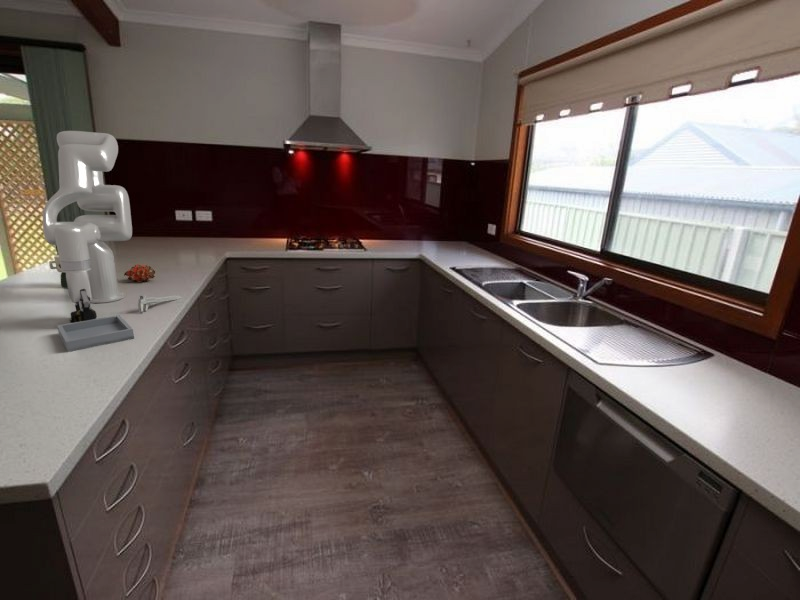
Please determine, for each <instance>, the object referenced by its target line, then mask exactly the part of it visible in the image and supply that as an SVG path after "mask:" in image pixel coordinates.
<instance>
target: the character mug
mask: <svg viewBox="0 0 800 600" xmlns="http://www.w3.org/2000/svg"><path fill="white" fill-rule="evenodd" d="M53 259H54V260H50V261H49V262H48V264H49V269H51V270H56V272H58V273H61V274H60V287H62V288H68V286H67V280H66V272H62V270H61V265H60V260H59V255H58V254H57V255H54V257H53ZM54 264H55V266H53V265H54Z"/></svg>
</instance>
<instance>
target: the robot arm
mask: <svg viewBox="0 0 800 600" xmlns="http://www.w3.org/2000/svg"><path fill="white" fill-rule="evenodd" d="M56 143H57V146H58V153H57V158H58V179H59V180H58V181H59V182H58V183H59V184H58V185H59V188H58V191H57V192H55V193H54V194H53V195H52V196H51V197H50V198H49V200H48V201H47V202H46V204H45V206H44V207H43V211H42V229H43V230H42V232H43V237H44V239H45V241H46V243H49V244H50V245H52V246H56V249H57V255H59V260H60V265H61V270H62V272H66V280H67V286H68V287H67V293H68V297H69V299H70V301H71V302H72V303H74V304H75V305H74V307H75V311H78V310H81V311H80V316H81V321H87V320H92V319H94V317H93V311H92V309H93V308H92V305H91V303H93V304H97V303H98V304H99V303H100V304H102V303H103V304H104V303H109V302H110V303H111V302H115V301H118V300H119V301H120V300H122V299H123V298H124V297H125V293H124V292H123V291H120V289H119V283H118V276H117V270H116V263H115V257H114V252H113V250H112V249H111V247H109V246H108V245H107V244H106V243H105V242H126V241H129V240H131V238H132V236H133V225H132V223H133V222H132V215H131V213H132V212H131V204H130V197H129V194H128V191H127V190H126V188H125V187H123V186H121V185H116V184H113V185H111V184H104V178H103V177H104V176H103V175H104V172H106V173H107V172H110V171H112V169H113V168H114V166H115V163H116V160H117V157H118V154H119V145H118V141H117V139H116V137H115V136H114V135H112V134H110V133H107V132H93V131H84V130H83V131H82V130H81V131H80V130H64V131H60V132H58V133H57V134H56ZM75 202H76V203H77V206H78V207H79V208H80V209H81V210H83V211H86V212H113V213H115V214H84V215H79V216H77V217H75V219H74V220H73V221H58V220H57V219H58V215H59V213H60V212H61V210H63V209H64V208H66V207H67V206H68V205H71V204H72V203H75ZM62 272H61V273H62Z"/></svg>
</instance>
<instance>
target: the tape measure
mask: <svg viewBox="0 0 800 600" xmlns="http://www.w3.org/2000/svg"><path fill="white" fill-rule="evenodd" d="M80 311H81V310H78V311H76V310H73V311H71V312H70V319H69V321H70V322H69V323H75V322H81V316H80ZM92 311H93V317H94V319H97V317H98V316H97V312H96V310H94V309H93V308H92Z"/></svg>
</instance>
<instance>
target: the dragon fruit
mask: <svg viewBox="0 0 800 600" xmlns="http://www.w3.org/2000/svg"><path fill="white" fill-rule="evenodd" d="M155 274H156V271H155V270H154V268H152V267H151V266H149V265H147V264H145V263H142V265H141V264H134V266H131V268H130V269H128V270H127V271H125V272H124V275H123V276H124V277H125V276H126V277H127V280H129V281H132V282H137V283H140V284H141V283H142V282H143V281H144V282H145V283H147V282H149V279H154V278H155V277H156V276H155Z"/></svg>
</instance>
